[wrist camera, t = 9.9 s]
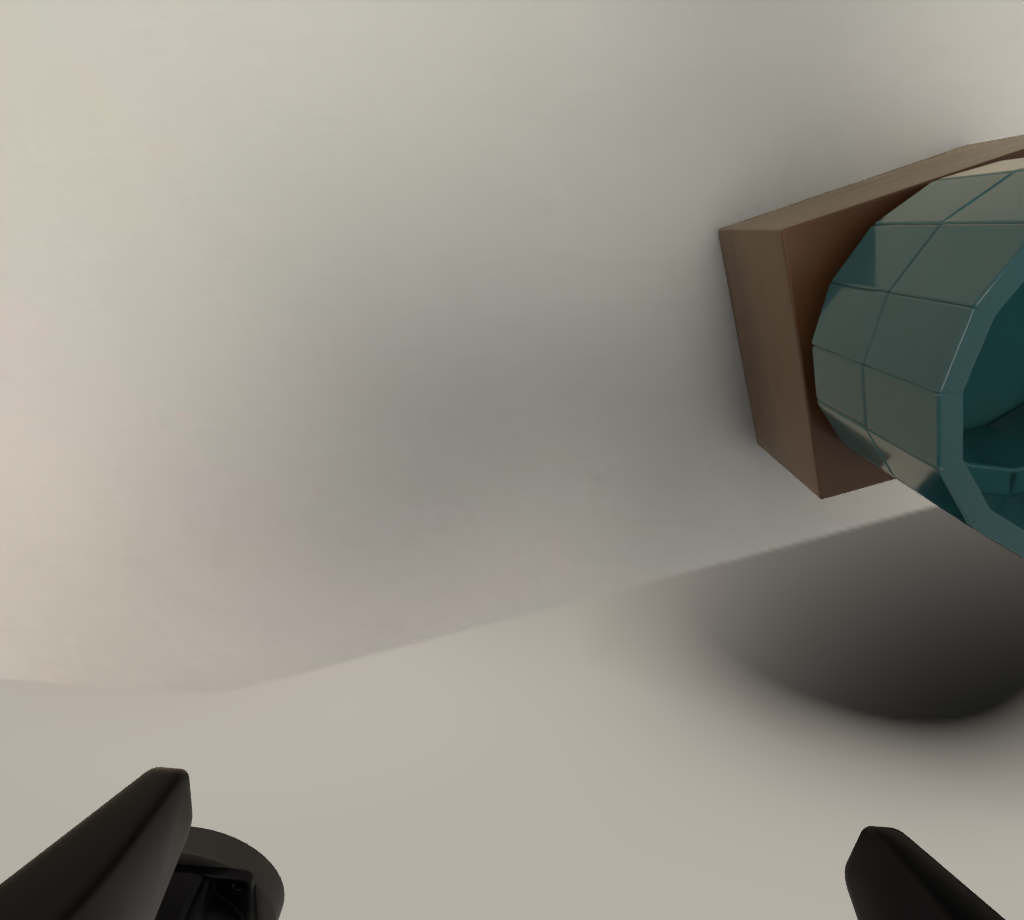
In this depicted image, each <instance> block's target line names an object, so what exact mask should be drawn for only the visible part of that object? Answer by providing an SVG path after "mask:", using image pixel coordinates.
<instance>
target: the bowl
mask: <svg viewBox="0 0 1024 920" xmlns="http://www.w3.org/2000/svg"><path fill="white" fill-rule="evenodd" d="M812 344H813V345H814V346H813V348H812V352H813V363H814V374H815V385H816V396H817V399H818V404H819V406H820V408H821V409H822V411H823V413H824V414H825V416H826V417H827V419H828V421H829V422H830V424H831V426H832V427H833V429H834V430H835V432H836V434H837V435H838V437H839V439H840V440H841V442H843V443H844V444H845V445H846V446H847V447H848V448H850V449H851V450H853V451H854V452H856V453H858V454H859V455H861V456H862V457H864V458H865V459H867V460H868V461H870V462H871V463H873V464H874V465H876V466H878V467H879V468H881V469H882V470H884V471H885V472H887V473H888V474H890V475H891V476H893V477H894V478H896V479H898V480H899V481H900V482H902V483H903V484H905V485H907V486H908V487H910V488H911V489H913V490H914V491H916V492H917V493H919V494H920V495H922V496H923V497H925V498H927V499H928V500H930V501H931V502H933V503H934V504H936V505H937V506H939V507H940V508H942V509H943V510H945V511H946V512H948V513H950V514H951V515H953V516H954V517H956V518H957V519H959V520H960V521H962V522H963V523H965V524H966V525H968V526H970V527H971V528H973V529H975V530H976V531H978V532H980V533H981V534H983V535H985V536H986V537H988V538H990V539H991V540H993V541H995V542H996V543H998V544H1000V545H1001V546H1003V547H1005V548H1006V549H1008V550H1010V551H1011V552H1013V553H1015V554H1016V555H1018V556H1020V557H1022V558H1024V158H1018V159H1011V160H1004V161H999V162H995V163H992V164H988V165H985V166H982V167H978V168H975V169H971V170H968V171H964V172H961V173H957V174H954V175H950V176H947V177H943V178H941V179H939V180H938V181H934V182H931V183H930V184H929V185H927V186H926V187H924V188H923V189H922V190H920V191H919V192H917V193H916V194H915V195H913V196H912V197H911V198H909V199H908V200H906V201H905V202H904V203H902V204H901V205H899V206H898V207H897V208H895V209H894V210H892V211H891V212H890V213H888V214H887V215H885V216H884V217H883V218H881V219H880V220H878V221H877V222H876V223H875V225H873V226H872V227H871V228H870V229H869V230H868V232H867V233H866V235H865V236H864V237H863V239H862V240H861V241H860V243H859V244H858V245H857V247H856V248H855V250H854V251H853V252H852V254H851V255H850V256H849V258H848V259H847V260H846V262H845V263H844V265H843V266H842V267H841V269H840V270H839V271H838V273H837V274H836V275H835V277H834V278H833V280H832V283H831V284H830V285H829V288H828V291H827V294H826V297H825V301H824V304H823V307H822V310H821V314H820V317H819V320H818V323H817V326H816V330H815V333H814V336H813V339H812Z"/></svg>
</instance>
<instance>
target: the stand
mask: <svg viewBox="0 0 1024 920" xmlns="http://www.w3.org/2000/svg"><path fill="white" fill-rule="evenodd" d="M1018 158H1024V135H1019V136H1014V137H1009V138H1003V139H998V140H992V141H987V142H981V143H976V144H970V145H966V146H963V147H960V148H957V149H954V150H951V151H948V152H945V153H942V154H939V155H936V156H934V157H931V158H928V159H925V160H922V161H919V162H916V163H913V164H910V165H907V166H904V167H901V168H898V169H895V170H892V171H889V172H886V173H883V174H880V175H877V176H875V177H872V178H869V179H866V180H863V181H860V182H857V183H854V184H851V185H848V186H845V187H842V188H839V189H836V190H833V191H830V192H827V193H824V194H821V195H818V196H815V197H813V198H810V199H807V200H804V201H801V202H798V203H795V204H792V205H789V206H786V207H783V208H780V209H777V210H774V211H771V212H768V213H765V214H762V215H759V216H756V217H754V218H751V219H748V220H745V221H742V222H739V223H736V224H733V225H730V226H727V227H724V228H721V229H719V237H720V242H721V248H722V253H723V259H724V264H725V269H726V275H727V280H728V286H729V291H730V297H731V302H732V307H733V313H734V318H735V324H736V329H737V334H738V340H739V345H740V351H741V356H742V362H743V367H744V372H745V378H746V383H747V389H748V394H749V400H750V405H751V410H752V416H753V421H754V427H755V432H756V438H757V443H758V445H760V446H761V447H762V448H763V449H764V450H765V451H766V452H768V453H769V454H770V455H771V456H772V457H773V458H774V459H776V460H777V461H778V462H779V463H780V464H781V465H782V466H784V467H785V468H786V469H787V470H788V471H789V472H790V473H792V474H793V475H794V476H795V477H796V478H797V479H798V480H800V481H801V482H802V483H803V484H804V485H805V486H806V487H808V488H809V489H810V490H811V491H812V492H813V493H814V494H816V495H817V496H818V497H819V498H820V499H824V498H828V497H832V496H835V495H839V494H842V493H846V492H850V491H853V490H857V489H860V488H864V487H867V486H871V485H875V484H878V483H882V482H885V481H889V480H892V479H896V478H894V477H893V476H891V475H890V474H888V473H887V472H885V471H884V470H882V469H881V468H879V467H878V466H876V465H874V464H873V463H871V462H870V461H868V460H867V459H865V458H864V457H862V456H861V455H859V454H858V453H856V452H854V451H853V450H851V449H850V448H848V447H847V446H846V445H845V444H844V443H843V442H841V440H840V439H839V437H838V435H837V434H836V432H835V430H834V429H833V427H832V426H831V424H830V422H829V421H828V419H827V417H826V416H825V414H824V413H823V411H822V409H821V408H820V406H819V404H818V399H817V396H816V385H815V374H814V363H813V352H812V348H813V346H814V345H813V344H812V339H813V336H814V333H815V330H816V326H817V323H818V320H819V317H820V314H821V310H822V307H823V304H824V301H825V297H826V294H827V291H828V288H829V285H830V284H831V283H832V280H833V278H834V277H835V275H836V274H837V273H838V271H839V270H840V269H841V267H842V266H843V265H844V263H845V262H846V260H847V259H848V258H849V256H850V255H851V254H852V252H853V251H854V250H855V248H856V247H857V245H858V244H859V243H860V241H861V240H862V239H863V237H864V236H865V235H866V233H867V232H868V230H869V229H870V228H871V227H872V226H873V225H875V223H876V222H877V221H878V220H880V219H881V218H883V217H884V216H885V215H887V214H888V213H890V212H891V211H892V210H894V209H895V208H897V207H898V206H899V205H901V204H902V203H904V202H905V201H906V200H908V199H909V198H911V197H912V196H913V195H915V194H916V193H917V192H919V191H920V190H922V189H923V188H924V187H926V186H927V185H929V184H930V183H931V182H934V181H938V180H939V179H941V178H943V177H947V176H950V175H954V174H957V173H961V172H964V171H968V170H971V169H975V168H978V167H982V166H985V165H988V164H992V163H995V162H999V161H1004V160H1011V159H1018Z"/></svg>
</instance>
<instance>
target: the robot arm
mask: <svg viewBox="0 0 1024 920" xmlns="http://www.w3.org/2000/svg"><path fill="white" fill-rule="evenodd" d="M191 822H192V805H191V793H190V783H189V776H188V773H187V772H186V771H185V770H183V769H175V768H164V767H156V768H153V769H151V770H149V771H147V772H145V773H144V774H143V775H141V776H140V777H139V778H138V779H136V780H135V781H134V782H132V783H131V784H130V785H128V787H126V788H125V789H123V790H122V791H121V792H120V793H118V794H117V795H116V796H114V797H113V798H112V799H111V800H109V801H108V802H106V803H105V804H104V805H103V806H101V807H100V808H99V809H98V810H96V811H95V812H93V813H92V814H91V815H90V816H89V817H87V818H86V819H84V820H83V821H82V822H81V823H79V824H78V825H77V826H75V827H74V828H73V829H71V830H70V831H69V832H68V833H67V834H65V835H64V836H62V837H61V838H60V839H59V840H57V841H56V842H55V843H53V844H52V845H51V846H50V847H48V848H47V849H46V850H45V851H43V852H42V853H40V854H39V855H38V856H36V857H35V858H34V859H33V860H31V861H30V862H29V863H27V864H26V865H25V866H24V867H22V868H21V869H20V870H18V871H17V872H16V873H15V874H13V875H12V876H11V877H9V878H8V879H7V880H5V881H4V882H3V883H1V884H0V920H258V914H257V898H256V883H255V876H254V874H253V873H252V872H250V871H248V870H243V869H232V868H219V867H206V866H193V865H181V864H177V862H178V859H179V857H180V854H181V852H182V849H183V847H184V844H185V842H186V839H187V837H188V834H189V831H190V827H191ZM845 880H846V885H847V889H848V892H849V895H850V898H851V901H852V904H853V907H854V910H855V912H856V916H857V919H858V920H1005V919H1004V918H1003V917H1001V916H1000V915H999V914H998V913H997V912H996V911H995V910H993V909H992V908H991V907H990V906H989V905H988V904H986V903H985V902H984V901H983V900H982V899H980V898H979V897H978V896H977V895H976V894H974V893H973V892H972V891H971V890H970V889H969V888H968V887H966V886H965V885H964V884H963V883H962V882H961V881H959V880H958V879H957V878H956V877H954V876H953V875H952V874H951V873H950V872H949V871H948V870H946V869H945V868H944V867H943V866H942V865H941V864H939V863H938V862H937V861H936V860H935V859H934V858H932V857H931V856H930V855H929V854H928V853H926V852H925V851H924V850H923V849H922V848H920V847H919V846H918V845H917V844H916V843H915V842H914V841H912V840H911V839H910V838H909V837H907V836H906V835H905V834H904V833H903V832H901V831H899V830H897V829H894V828H888V827H875V826H868V827H866V828H865V829H863V830H862V832H861V834H860V836H859V838H858V840H857V842H856V844H855V846H854V848H853V850H852V853H851V855H850V857H849V859H848V861H847V863H846V866H845Z"/></svg>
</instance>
